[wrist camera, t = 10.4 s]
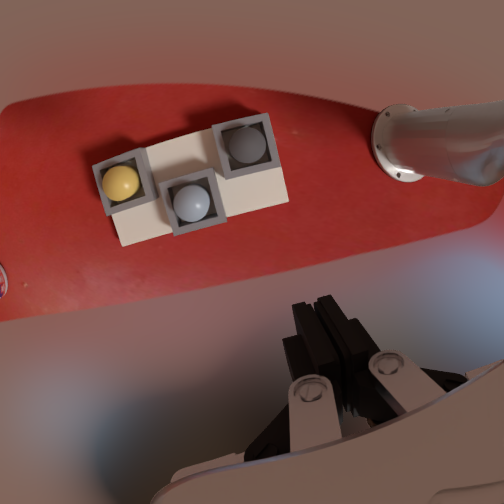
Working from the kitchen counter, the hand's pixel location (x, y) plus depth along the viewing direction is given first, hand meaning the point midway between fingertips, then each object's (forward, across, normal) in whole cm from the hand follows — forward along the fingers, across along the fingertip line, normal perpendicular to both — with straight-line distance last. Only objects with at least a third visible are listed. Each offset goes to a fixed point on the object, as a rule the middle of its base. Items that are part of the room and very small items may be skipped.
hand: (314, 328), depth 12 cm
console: (+31, +7, -6) cm, 32 cm away
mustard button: (+28, +15, -8) cm, 33 cm away
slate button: (+28, +7, -3) cm, 29 cm away
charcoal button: (+28, -1, -8) cm, 29 cm away
